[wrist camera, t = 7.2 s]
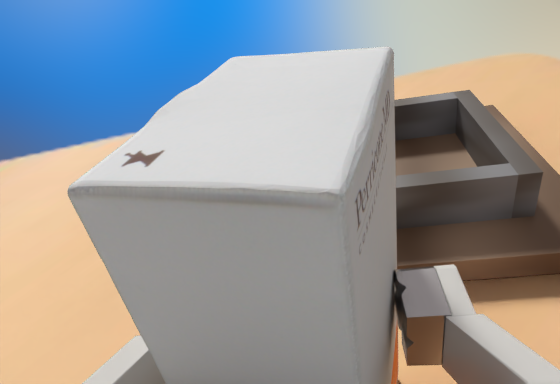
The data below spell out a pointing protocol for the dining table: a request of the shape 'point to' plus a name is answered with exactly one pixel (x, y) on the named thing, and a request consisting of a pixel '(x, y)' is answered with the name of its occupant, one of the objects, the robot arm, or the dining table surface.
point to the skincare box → (259, 223)
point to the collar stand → (472, 191)
